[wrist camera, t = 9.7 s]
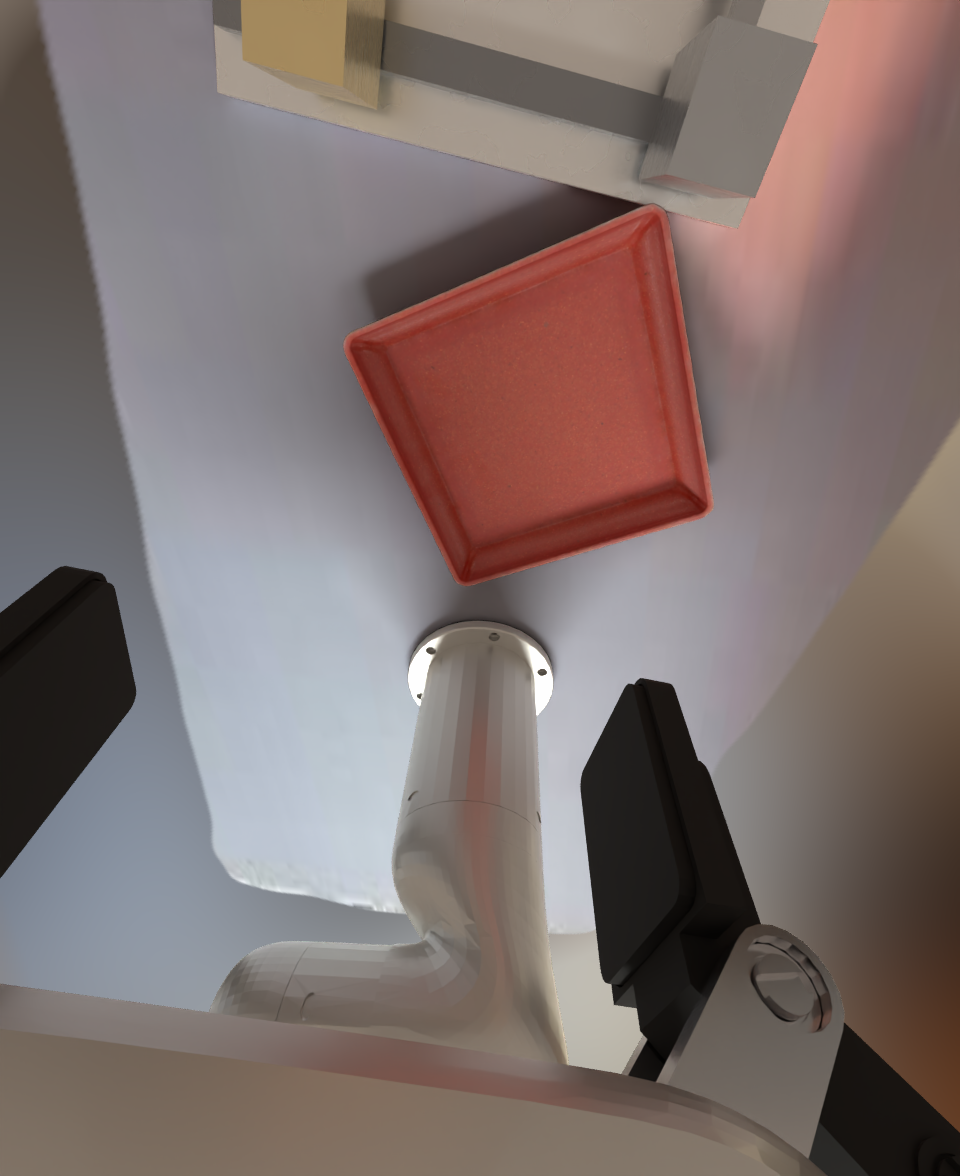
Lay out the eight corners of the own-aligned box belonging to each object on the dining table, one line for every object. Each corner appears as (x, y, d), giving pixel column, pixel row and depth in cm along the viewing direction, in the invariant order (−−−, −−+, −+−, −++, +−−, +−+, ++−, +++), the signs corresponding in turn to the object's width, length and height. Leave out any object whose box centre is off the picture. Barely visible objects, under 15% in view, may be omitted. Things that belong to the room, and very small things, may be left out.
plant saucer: (652, 195, 29) (666, 195, 26) (703, 494, 38) (717, 516, 36) (350, 327, 33) (335, 338, 31) (462, 565, 43) (458, 590, 40)
